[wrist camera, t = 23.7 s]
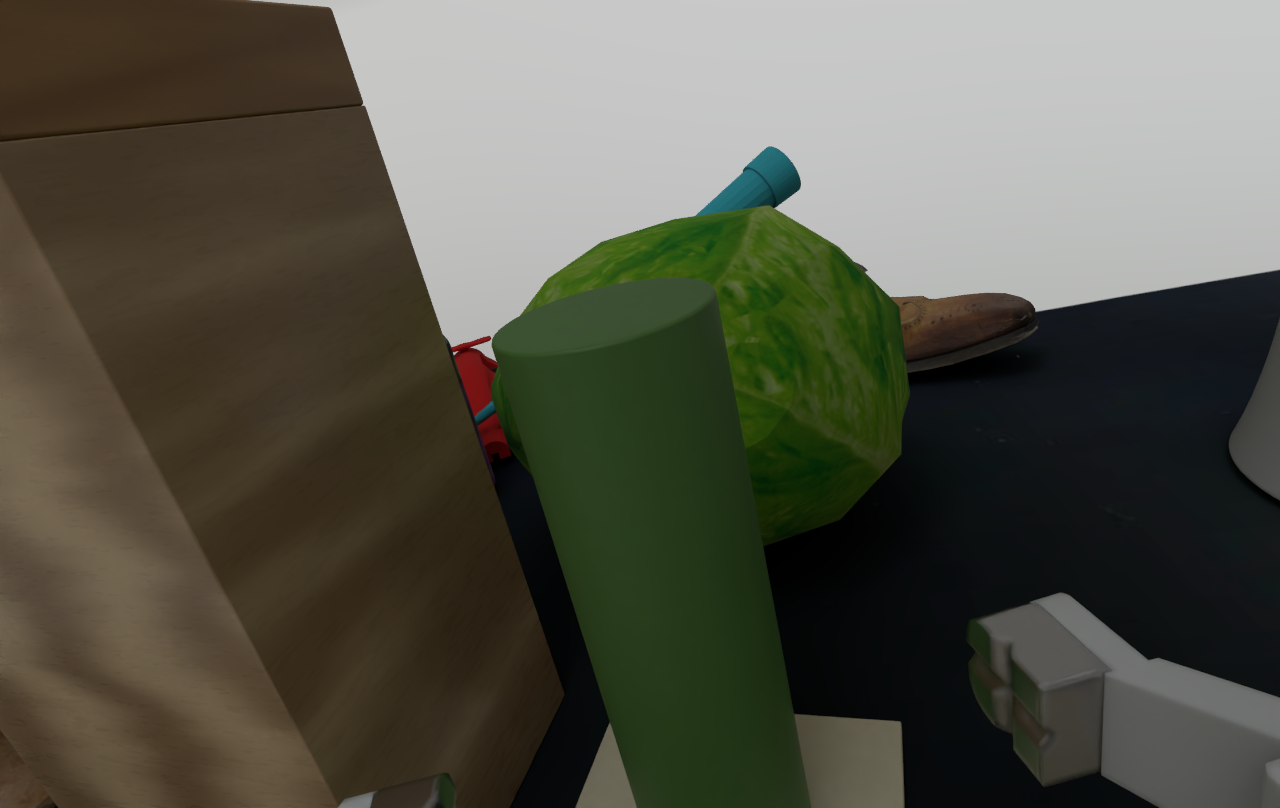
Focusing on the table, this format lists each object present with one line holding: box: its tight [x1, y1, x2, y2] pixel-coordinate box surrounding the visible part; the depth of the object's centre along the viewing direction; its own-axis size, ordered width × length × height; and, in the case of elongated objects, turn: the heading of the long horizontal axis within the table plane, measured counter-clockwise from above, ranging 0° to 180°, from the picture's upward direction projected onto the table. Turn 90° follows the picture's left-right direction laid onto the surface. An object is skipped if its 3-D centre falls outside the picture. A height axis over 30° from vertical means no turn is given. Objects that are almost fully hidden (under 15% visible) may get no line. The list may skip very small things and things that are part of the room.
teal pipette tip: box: [475, 147, 801, 426], centre depth 51 cm, size 5×6×30 cm
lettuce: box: [491, 205, 910, 546], centre depth 35 cm, size 17×20×17 cm
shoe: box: [854, 262, 1039, 373], centre depth 52 cm, size 9×27×10 cm, turn 56°
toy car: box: [451, 336, 511, 462], centre depth 57 cm, size 6×18×5 cm, turn 17°
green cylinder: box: [492, 278, 811, 808], centre depth 19 cm, size 5×5×16 cm
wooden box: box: [0, 0, 565, 808], centre depth 22 cm, size 12×10×24 cm
